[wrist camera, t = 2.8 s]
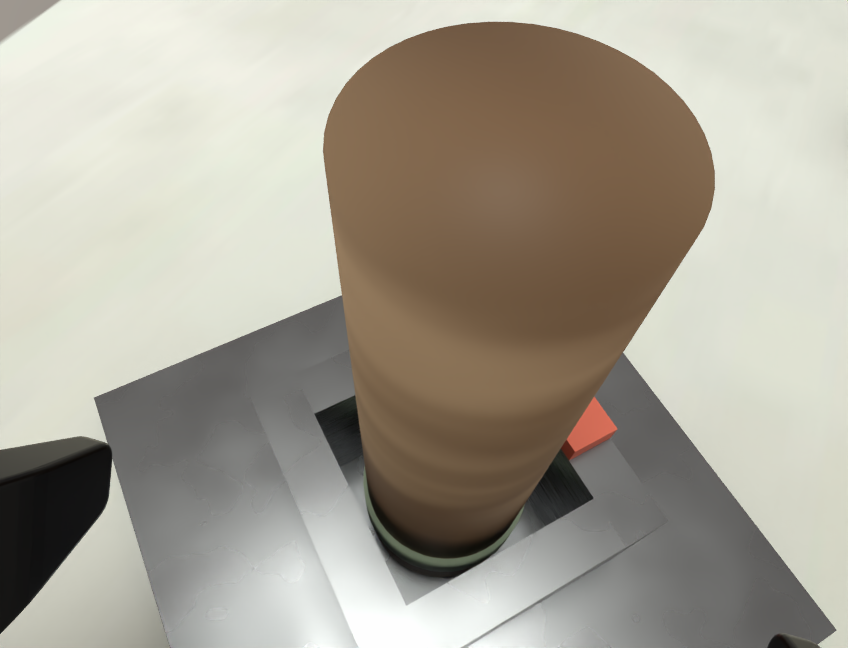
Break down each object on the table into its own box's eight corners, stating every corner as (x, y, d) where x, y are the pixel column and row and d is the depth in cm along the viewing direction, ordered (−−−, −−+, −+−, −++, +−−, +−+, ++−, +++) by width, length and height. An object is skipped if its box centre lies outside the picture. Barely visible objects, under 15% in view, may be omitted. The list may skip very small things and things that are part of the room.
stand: (293, 1012, 14) (233, 1195, 9) (106, 410, 21) (9, 313, 16) (816, 633, 18) (984, 606, 13) (517, 237, 25) (548, 115, 20)
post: (409, 610, 17) (437, 393, 5) (343, 474, 19) (252, 78, 7) (539, 535, 18) (815, 213, 6) (466, 413, 20) (570, -18, 8)
